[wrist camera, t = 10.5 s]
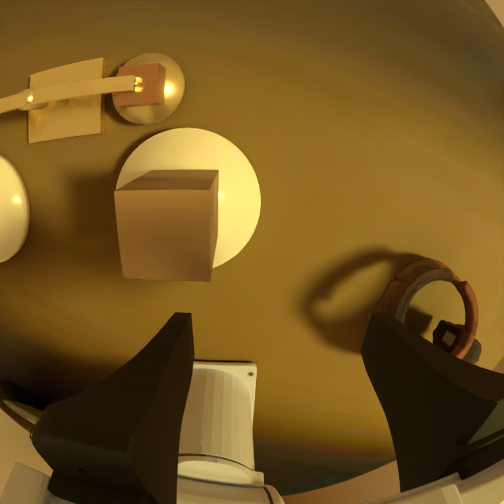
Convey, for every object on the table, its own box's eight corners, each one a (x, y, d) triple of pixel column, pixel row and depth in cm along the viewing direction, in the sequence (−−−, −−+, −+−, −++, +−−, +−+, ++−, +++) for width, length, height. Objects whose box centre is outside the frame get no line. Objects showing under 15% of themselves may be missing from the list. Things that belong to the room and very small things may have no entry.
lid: (83, 409, 27) (70, 443, 22) (82, 444, 30) (72, 473, 26) (7, 368, 25) (-12, 397, 20) (16, 411, 28) (3, 436, 24)
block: (217, 235, 19) (210, 281, 13) (154, 233, 19) (123, 278, 13) (218, 169, 17) (209, 190, 12) (151, 170, 17) (114, 190, 12)
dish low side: (256, 266, 21) (256, 273, 20) (126, 263, 20) (122, 269, 20) (263, 129, 18) (264, 129, 17) (118, 131, 17) (112, 131, 16)
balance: (186, 127, 17) (161, 128, 11) (-12, 152, 16) (-67, 167, 11) (189, 50, 15) (167, 17, 10) (-12, 92, 14) (-67, 94, 9)
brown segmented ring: (331, 350, 25) (360, 374, 17) (368, 248, 26) (408, 230, 18) (437, 383, 24) (486, 406, 16) (467, 292, 25) (522, 289, 17)
